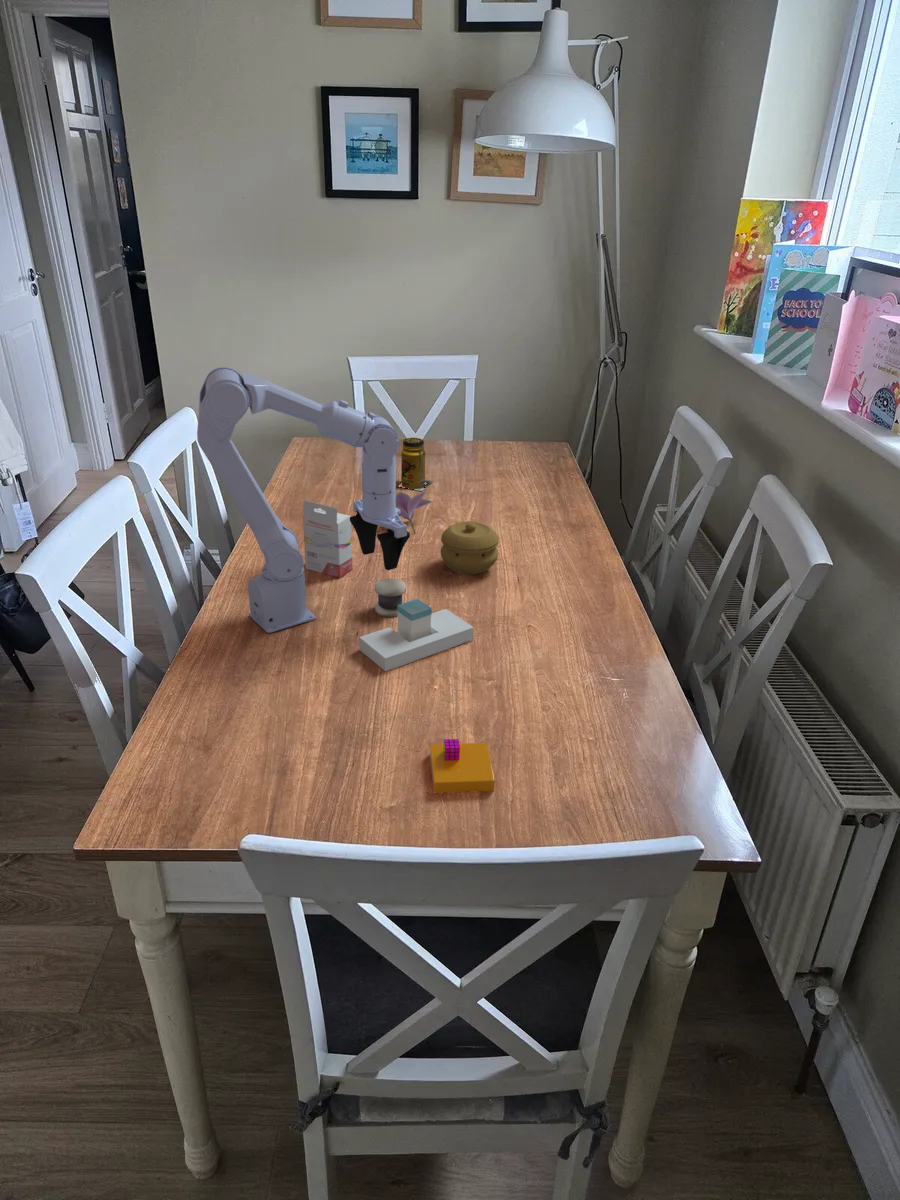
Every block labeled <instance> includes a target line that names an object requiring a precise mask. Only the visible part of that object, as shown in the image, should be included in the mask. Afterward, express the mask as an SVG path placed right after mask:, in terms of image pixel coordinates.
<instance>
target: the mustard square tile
mask: <svg viewBox="0 0 900 1200" xmlns="http://www.w3.org/2000/svg"><path fill="white" fill-rule="evenodd" d="M429 762H430V764H429V765H430V773H431V780H432V781H433V782H432V789H433V790H434V791H433V793H434V792H436V793H435V794H442V793H441V792H456V793H466V792H465V791H483V792H495V787H496V779H495V773H494V770H493V765H492V759H491V755H490V750H489V746H488V743H487V742H469V743H468V742H466V743H465V742H464V743H461V742H460V740H459V738H450V739H449V738H447V739H445V738H444V739H443V743H432V744H431V743H430V744H429Z"/></svg>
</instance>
